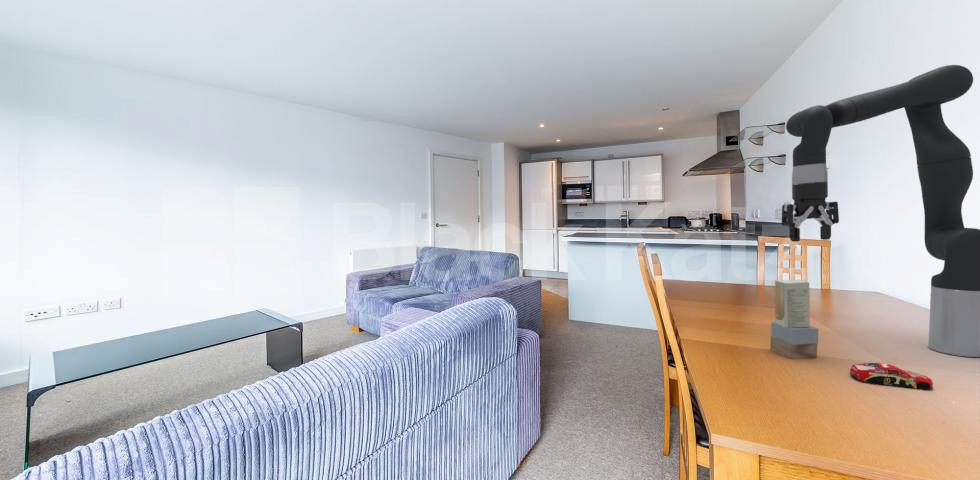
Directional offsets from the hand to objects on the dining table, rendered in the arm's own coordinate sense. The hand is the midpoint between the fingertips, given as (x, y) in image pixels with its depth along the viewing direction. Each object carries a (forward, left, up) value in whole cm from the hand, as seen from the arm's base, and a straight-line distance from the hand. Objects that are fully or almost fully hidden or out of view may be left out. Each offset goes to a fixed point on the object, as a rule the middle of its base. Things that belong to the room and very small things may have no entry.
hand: (810, 240), depth 105 cm
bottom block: (+8, +4, -31) cm, 32 cm away
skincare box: (+8, +4, -23) cm, 25 cm away
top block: (+7, +4, -27) cm, 28 cm away
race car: (0, +22, -31) cm, 38 cm away
